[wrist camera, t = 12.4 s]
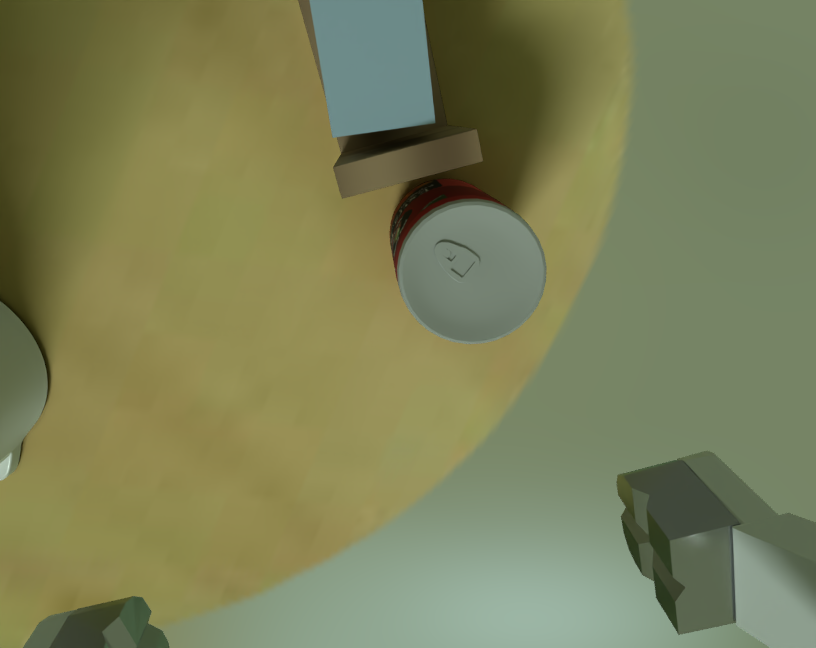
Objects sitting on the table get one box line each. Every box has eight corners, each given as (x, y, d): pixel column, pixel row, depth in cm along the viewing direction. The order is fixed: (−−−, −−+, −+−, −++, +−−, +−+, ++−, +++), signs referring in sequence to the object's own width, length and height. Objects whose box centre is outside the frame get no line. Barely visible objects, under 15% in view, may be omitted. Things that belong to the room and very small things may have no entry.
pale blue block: (296, -116, 28) (280, -173, 23) (394, -129, 28) (402, -189, 23) (338, 133, 32) (332, 137, 27) (423, 121, 33) (435, 123, 27)
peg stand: (348, 175, 37) (342, 198, 27) (262, -129, 31) (212, -249, 21) (450, 148, 37) (483, 161, 27) (384, -163, 31) (394, -301, 21)
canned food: (412, 159, 37) (430, 176, 27) (519, 202, 39) (574, 235, 28) (372, 264, 39) (374, 316, 29) (474, 301, 41) (511, 363, 31)
